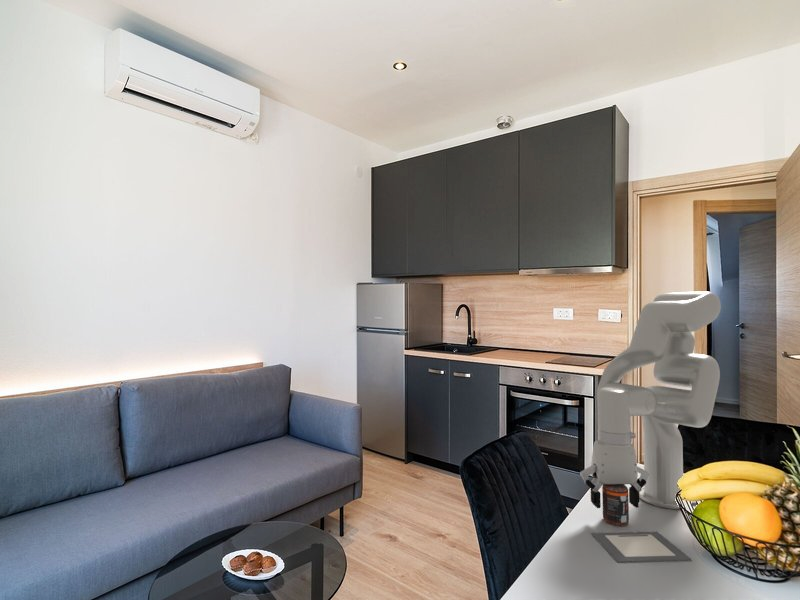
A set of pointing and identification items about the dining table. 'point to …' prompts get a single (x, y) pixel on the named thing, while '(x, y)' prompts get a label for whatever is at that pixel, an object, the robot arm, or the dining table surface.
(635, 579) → the dining table surface
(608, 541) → the mat
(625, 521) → the supplement bottle
